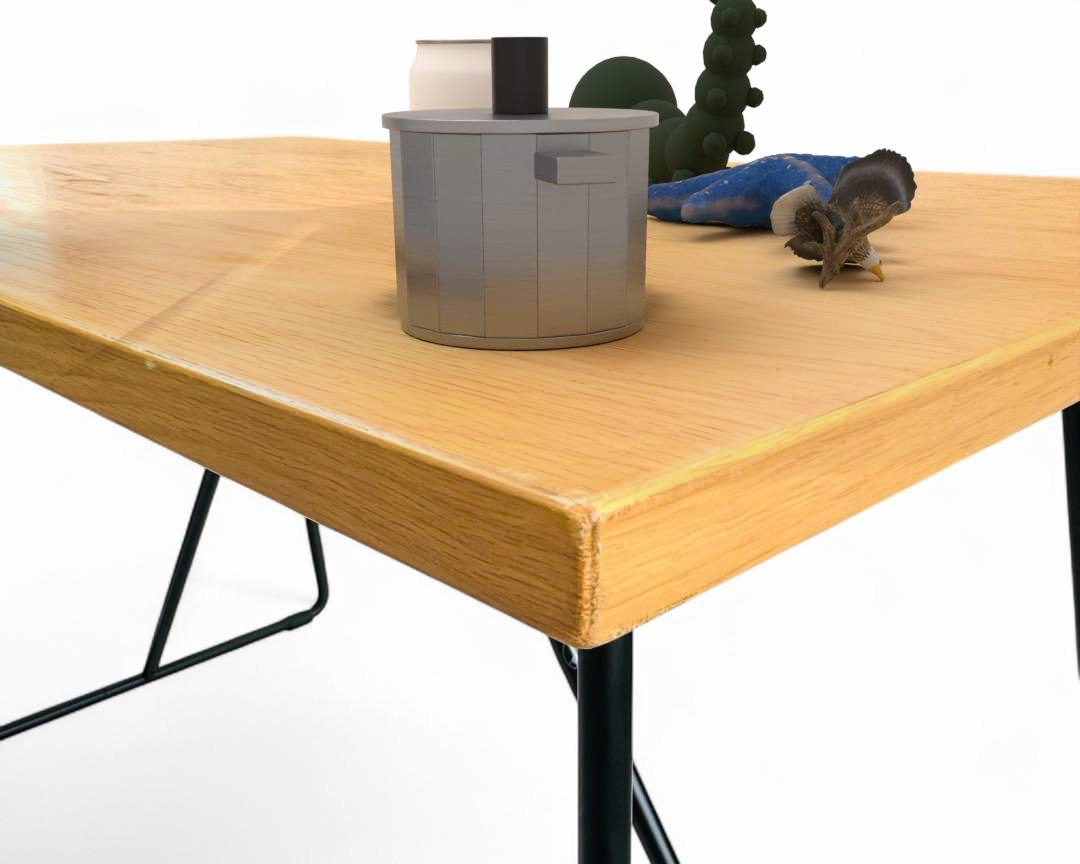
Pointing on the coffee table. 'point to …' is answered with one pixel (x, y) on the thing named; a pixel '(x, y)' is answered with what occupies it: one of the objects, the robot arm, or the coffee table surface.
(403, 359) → the coffee table surface
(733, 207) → the starfish
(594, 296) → the pot
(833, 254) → the eagle figurine
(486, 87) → the can
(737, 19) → the toy figurine
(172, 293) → the coffee table surface
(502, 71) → the pot lid
